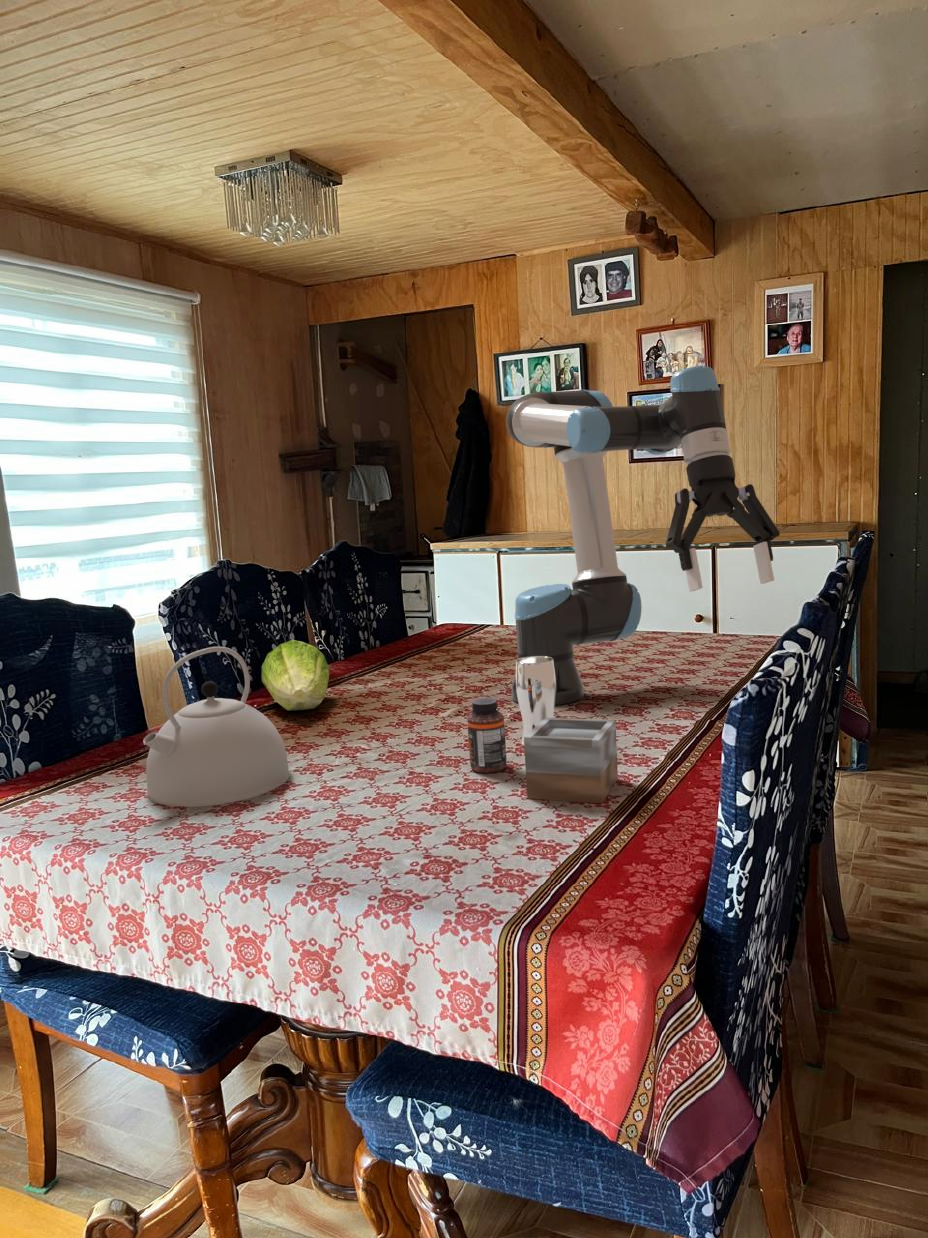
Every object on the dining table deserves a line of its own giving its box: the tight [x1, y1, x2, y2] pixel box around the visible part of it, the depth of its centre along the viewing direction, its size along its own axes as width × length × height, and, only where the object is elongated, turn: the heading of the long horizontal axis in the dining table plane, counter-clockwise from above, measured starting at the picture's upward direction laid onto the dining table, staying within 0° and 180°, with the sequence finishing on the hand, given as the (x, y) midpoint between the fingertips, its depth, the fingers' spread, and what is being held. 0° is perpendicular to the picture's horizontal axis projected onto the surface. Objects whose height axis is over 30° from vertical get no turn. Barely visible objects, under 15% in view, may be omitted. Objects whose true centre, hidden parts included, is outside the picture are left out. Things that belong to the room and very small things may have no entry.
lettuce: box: [261, 639, 330, 711], centre depth 200 cm, size 14×24×15 cm
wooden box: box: [524, 717, 619, 804], centre depth 138 cm, size 11×11×9 cm
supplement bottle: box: [466, 697, 507, 774], centre depth 151 cm, size 6×6×11 cm
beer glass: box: [515, 656, 556, 746], centre depth 163 cm, size 7×7×15 cm
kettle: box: [142, 646, 291, 808], centre depth 151 cm, size 25×23×22 cm
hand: (732, 586), depth 151 cm, fingers open, 13 cm apart
